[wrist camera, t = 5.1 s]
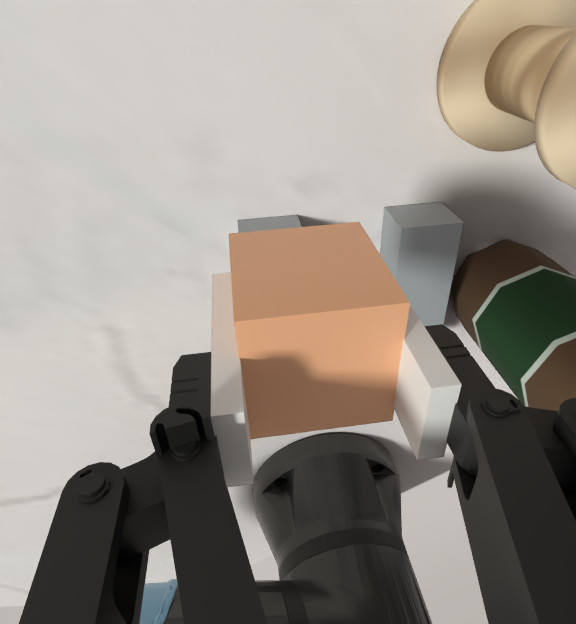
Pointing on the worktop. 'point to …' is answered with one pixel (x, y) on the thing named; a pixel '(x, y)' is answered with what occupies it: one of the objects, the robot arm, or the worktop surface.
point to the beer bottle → (521, 320)
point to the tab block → (315, 328)
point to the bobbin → (514, 79)
